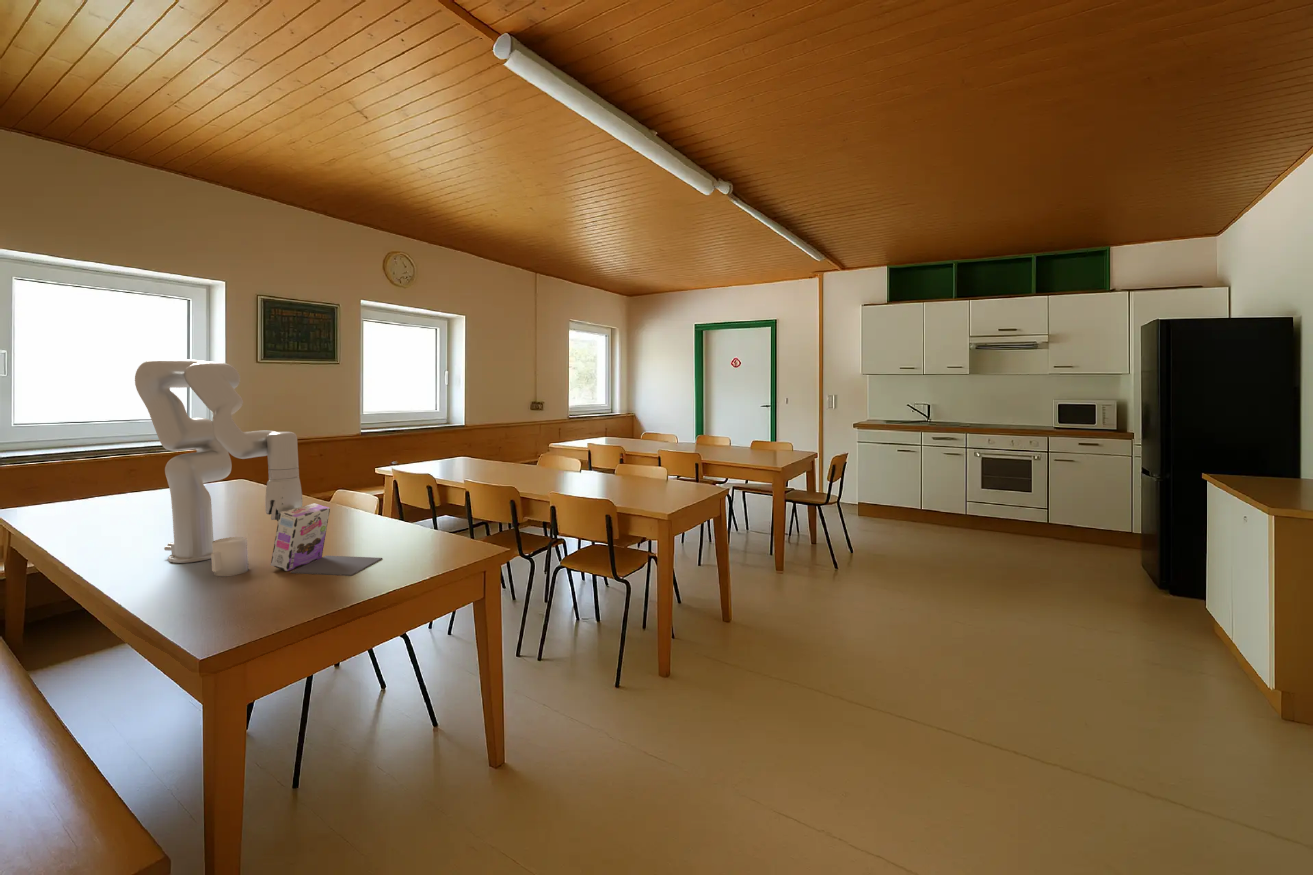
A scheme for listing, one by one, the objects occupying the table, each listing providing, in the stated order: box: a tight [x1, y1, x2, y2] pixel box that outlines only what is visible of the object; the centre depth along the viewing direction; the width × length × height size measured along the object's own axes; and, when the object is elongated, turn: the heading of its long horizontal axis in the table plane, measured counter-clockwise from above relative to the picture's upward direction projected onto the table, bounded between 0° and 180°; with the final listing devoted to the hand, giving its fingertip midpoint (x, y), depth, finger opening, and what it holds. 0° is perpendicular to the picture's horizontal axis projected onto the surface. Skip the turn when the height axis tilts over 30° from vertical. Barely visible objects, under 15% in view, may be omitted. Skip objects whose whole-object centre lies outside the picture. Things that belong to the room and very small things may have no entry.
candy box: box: [270, 502, 331, 572], centre depth 179 cm, size 14×6×16 cm, turn 169°
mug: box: [210, 536, 249, 577], centre depth 171 cm, size 8×10×9 cm
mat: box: [290, 555, 383, 577], centre depth 179 cm, size 18×16×1 cm
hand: (287, 535), depth 179 cm, fingers closed
